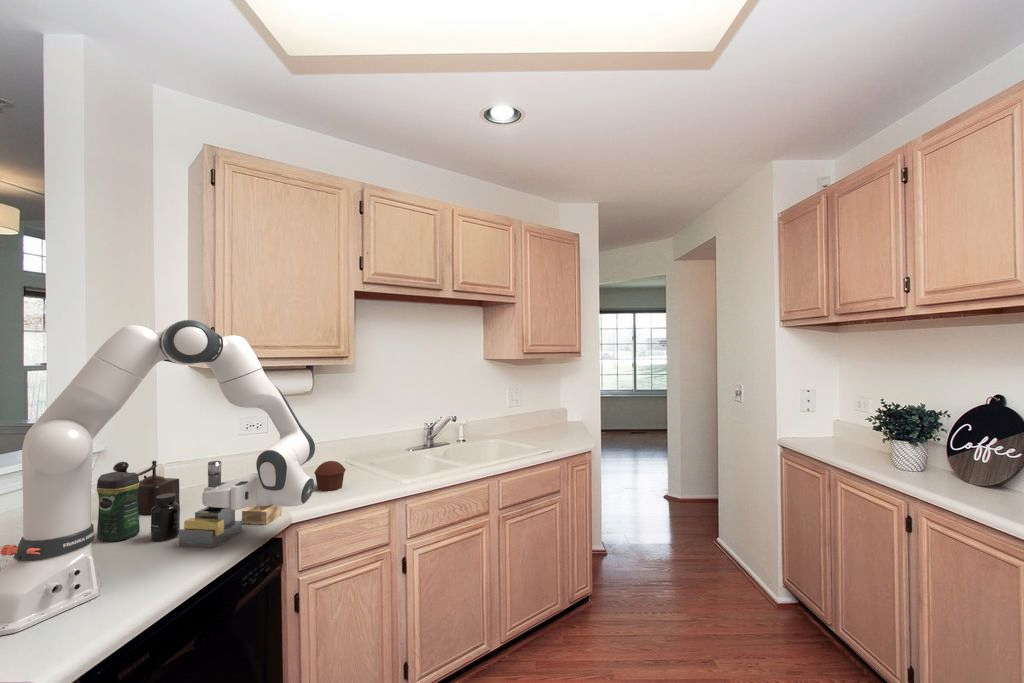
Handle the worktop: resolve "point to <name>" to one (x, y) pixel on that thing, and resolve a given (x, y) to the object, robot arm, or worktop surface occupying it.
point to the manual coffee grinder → (151, 487)
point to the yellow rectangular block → (205, 525)
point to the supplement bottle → (165, 518)
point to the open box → (261, 514)
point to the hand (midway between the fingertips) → (211, 487)
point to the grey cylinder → (214, 479)
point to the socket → (206, 537)
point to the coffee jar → (118, 506)
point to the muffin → (329, 476)
